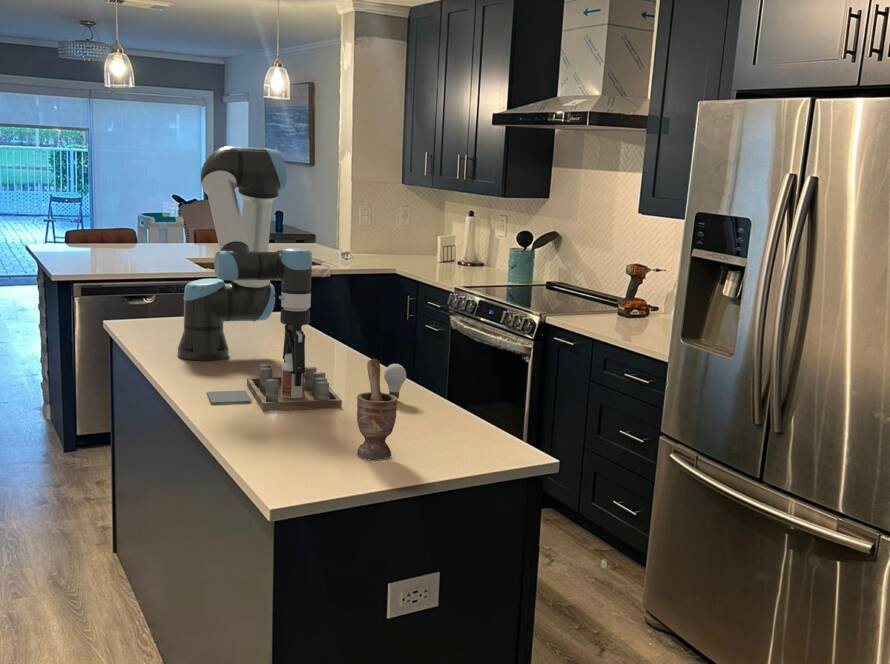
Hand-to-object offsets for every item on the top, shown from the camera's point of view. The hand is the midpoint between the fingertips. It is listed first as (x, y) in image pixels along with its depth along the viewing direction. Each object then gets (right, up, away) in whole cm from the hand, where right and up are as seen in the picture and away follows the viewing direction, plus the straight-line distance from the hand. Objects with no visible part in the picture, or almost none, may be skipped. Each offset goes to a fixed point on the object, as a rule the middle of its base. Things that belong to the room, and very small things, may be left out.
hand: (292, 392), depth 231 cm
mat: (-15, -1, -6) cm, 17 cm away
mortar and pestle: (+24, -11, -40) cm, 48 cm away
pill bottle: (0, -1, 0) cm, 1 cm away
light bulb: (+26, -3, +2) cm, 27 cm away
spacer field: (0, -1, 0) cm, 1 cm away
